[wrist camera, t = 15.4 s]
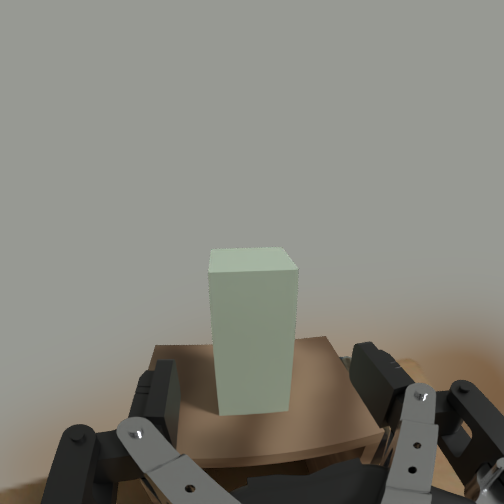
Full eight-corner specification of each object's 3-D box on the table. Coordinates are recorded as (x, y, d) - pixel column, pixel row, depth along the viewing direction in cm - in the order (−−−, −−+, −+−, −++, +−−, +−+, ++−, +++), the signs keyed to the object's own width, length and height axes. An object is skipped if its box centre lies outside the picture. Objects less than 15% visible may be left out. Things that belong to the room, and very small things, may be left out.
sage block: (219, 415, 19) (208, 272, 16) (218, 374, 24) (211, 249, 21) (288, 410, 20) (298, 269, 17) (277, 371, 24) (281, 247, 22)
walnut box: (176, 537, 19) (125, 454, 15) (180, 451, 33) (155, 345, 28) (336, 522, 21) (384, 431, 16) (308, 442, 35) (325, 336, 30)
